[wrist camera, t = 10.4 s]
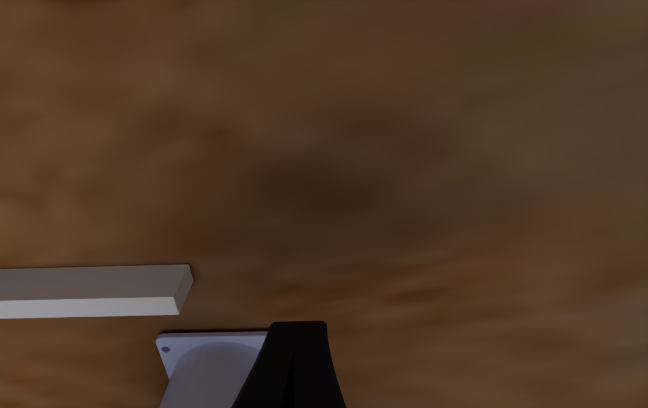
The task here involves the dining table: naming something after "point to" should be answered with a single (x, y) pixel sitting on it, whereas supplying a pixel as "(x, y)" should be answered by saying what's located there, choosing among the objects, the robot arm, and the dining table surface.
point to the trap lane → (94, 291)
